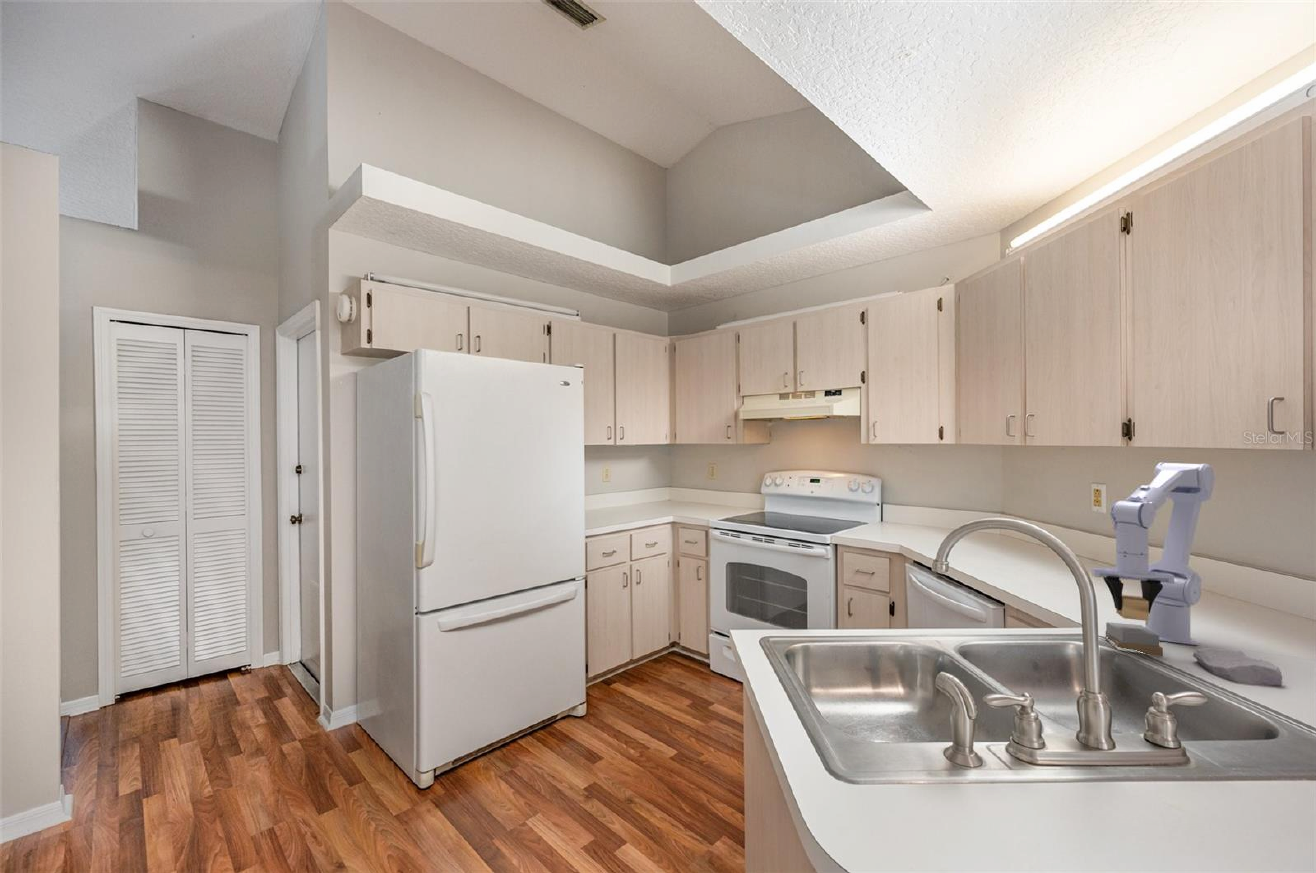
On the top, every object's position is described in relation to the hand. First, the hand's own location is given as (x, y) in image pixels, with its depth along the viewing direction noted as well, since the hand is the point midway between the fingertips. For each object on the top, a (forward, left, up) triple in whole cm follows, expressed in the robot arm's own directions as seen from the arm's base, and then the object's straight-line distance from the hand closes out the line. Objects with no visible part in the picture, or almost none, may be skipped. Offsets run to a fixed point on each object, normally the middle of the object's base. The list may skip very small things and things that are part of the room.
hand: (1132, 610), depth 126 cm
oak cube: (0, 0, -1) cm, 1 cm away
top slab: (-1, 0, -7) cm, 7 cm away
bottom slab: (-1, 0, -9) cm, 9 cm away
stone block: (+8, +14, -9) cm, 19 cm away
